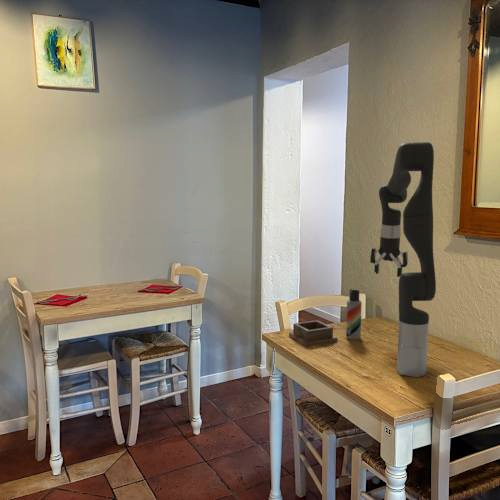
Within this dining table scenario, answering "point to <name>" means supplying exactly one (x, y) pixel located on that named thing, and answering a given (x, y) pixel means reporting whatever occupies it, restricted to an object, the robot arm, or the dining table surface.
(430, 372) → the dining table surface
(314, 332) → the bottle holder
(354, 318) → the lotion bottle
